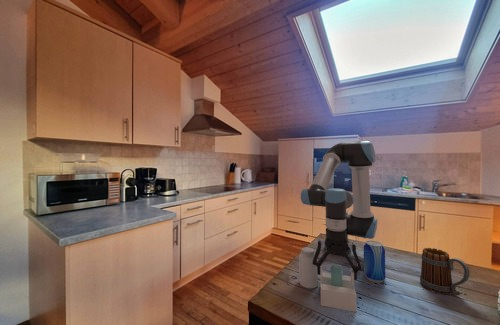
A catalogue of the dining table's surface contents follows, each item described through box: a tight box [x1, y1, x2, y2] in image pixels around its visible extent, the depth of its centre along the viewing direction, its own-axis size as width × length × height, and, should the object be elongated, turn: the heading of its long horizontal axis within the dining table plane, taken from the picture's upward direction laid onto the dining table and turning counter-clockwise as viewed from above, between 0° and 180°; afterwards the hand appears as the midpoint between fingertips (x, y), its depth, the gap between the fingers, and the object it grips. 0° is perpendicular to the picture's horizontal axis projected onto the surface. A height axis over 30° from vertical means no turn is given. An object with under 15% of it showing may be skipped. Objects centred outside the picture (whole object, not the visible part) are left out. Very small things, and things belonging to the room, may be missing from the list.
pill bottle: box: [298, 246, 319, 289], centre depth 91 cm, size 8×8×15 cm
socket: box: [320, 271, 358, 313], centre depth 82 cm, size 13×12×6 cm
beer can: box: [363, 240, 386, 284], centre depth 95 cm, size 8×8×16 cm
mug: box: [419, 247, 471, 296], centre depth 86 cm, size 16×11×15 cm
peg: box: [330, 264, 343, 287], centre depth 82 cm, size 4×4×12 cm
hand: (336, 285), depth 82 cm, fingers open, 10 cm apart
